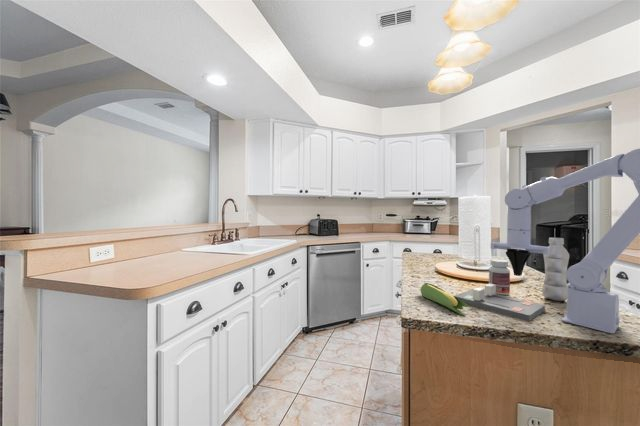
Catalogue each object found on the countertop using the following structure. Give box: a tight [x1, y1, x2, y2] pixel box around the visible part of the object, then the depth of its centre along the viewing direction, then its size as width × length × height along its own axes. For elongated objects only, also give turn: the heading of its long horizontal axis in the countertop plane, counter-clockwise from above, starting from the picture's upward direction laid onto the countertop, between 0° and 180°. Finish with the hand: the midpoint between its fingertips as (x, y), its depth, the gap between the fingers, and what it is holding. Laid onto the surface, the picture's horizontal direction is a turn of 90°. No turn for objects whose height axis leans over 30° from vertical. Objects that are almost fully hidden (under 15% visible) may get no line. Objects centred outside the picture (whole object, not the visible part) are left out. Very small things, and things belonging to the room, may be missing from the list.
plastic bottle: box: [541, 237, 570, 302], centre depth 90 cm, size 6×7×20 cm
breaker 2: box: [484, 283, 496, 296], centre depth 89 cm, size 2×4×3 cm, turn 127°
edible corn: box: [420, 282, 469, 316], centre depth 85 cm, size 5×20×5 cm, turn 12°
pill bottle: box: [488, 258, 511, 296], centre depth 97 cm, size 6×6×11 cm
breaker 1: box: [472, 287, 485, 301], centre depth 85 cm, size 2×4×3 cm, turn 127°
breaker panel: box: [453, 288, 546, 322], centre depth 84 cm, size 20×13×2 cm, turn 37°
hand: (517, 275), depth 83 cm, fingers closed
